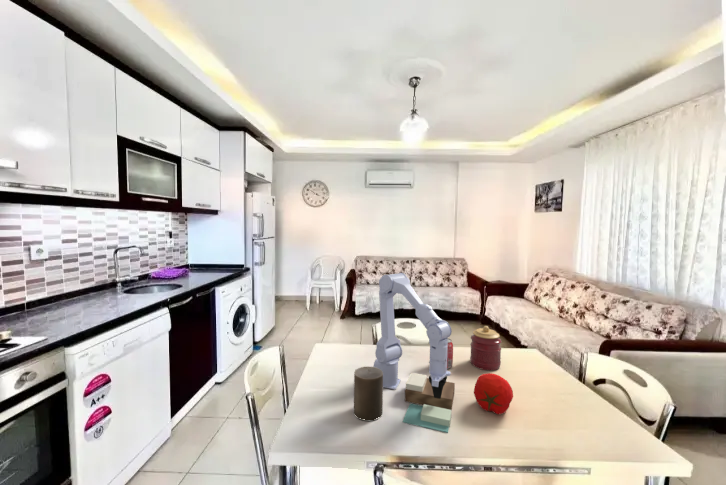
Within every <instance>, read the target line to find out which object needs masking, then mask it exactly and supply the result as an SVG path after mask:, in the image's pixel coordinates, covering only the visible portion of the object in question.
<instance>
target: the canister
mask: <svg viewBox="0 0 726 485" xmlns="http://www.w3.org/2000/svg"><path fill="white" fill-rule="evenodd" d="M500 337H501V336H500V333H498V332H497V331H496V330H493V329H490V328H489V326H488V325H484V326H483V327H482V328H481V327H480V328H477V329H475V330H473V331H472V335H470V339H471V342H470V355H469V361H470V364H471V365H472V366H473V367H475V368H478V369H481V370H483V371H497V370H499V369H501V363H502V362H501V359H502V358H501V353H502V346H501V344H502V343H503V342H502V339H501V338H500Z"/></svg>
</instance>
